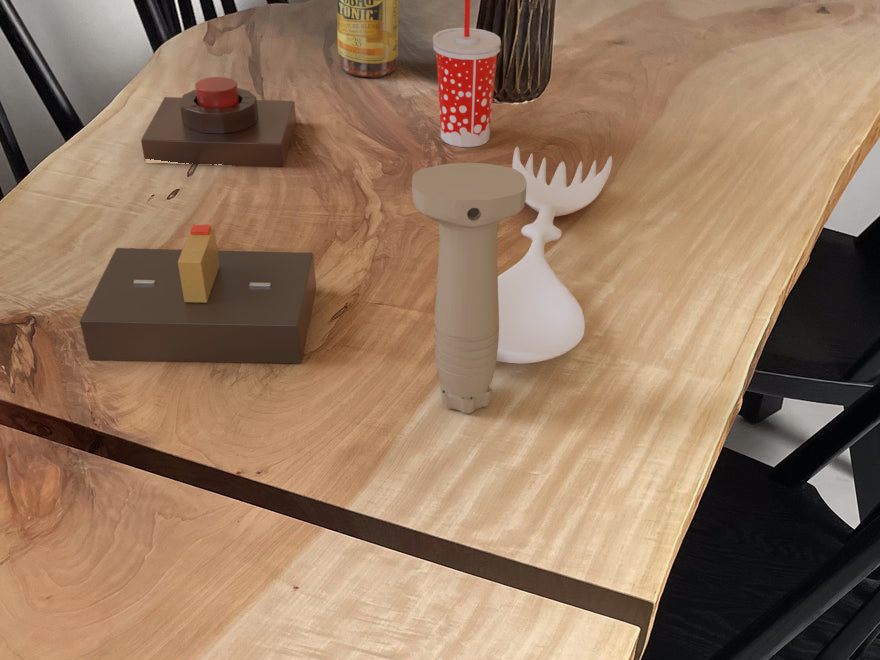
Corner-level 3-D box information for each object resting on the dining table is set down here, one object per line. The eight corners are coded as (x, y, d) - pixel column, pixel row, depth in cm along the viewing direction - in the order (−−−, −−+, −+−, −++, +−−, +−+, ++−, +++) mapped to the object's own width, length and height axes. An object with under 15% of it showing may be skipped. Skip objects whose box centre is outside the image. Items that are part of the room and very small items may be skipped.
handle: (412, 382, 73) (408, 164, 63) (509, 378, 74) (519, 162, 64) (418, 425, 69) (415, 201, 59) (519, 420, 70) (532, 198, 60)
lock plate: (88, 360, 73) (78, 318, 71) (123, 284, 81) (115, 245, 78) (301, 363, 74) (297, 323, 72) (316, 289, 81) (313, 250, 79)
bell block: (145, 164, 96) (136, 119, 94) (168, 120, 104) (161, 77, 101) (283, 168, 97) (279, 123, 94) (296, 124, 104) (292, 81, 102)
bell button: (194, 110, 96) (191, 90, 95) (201, 95, 99) (199, 76, 98) (236, 112, 97) (233, 92, 96) (242, 96, 99) (240, 77, 98)
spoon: (612, 189, 97) (616, 151, 94) (574, 393, 72) (579, 348, 70) (511, 178, 97) (512, 140, 95) (440, 377, 73) (440, 332, 71)
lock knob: (207, 302, 73) (200, 258, 71) (184, 302, 73) (176, 258, 71) (219, 266, 77) (213, 223, 75) (198, 265, 77) (191, 223, 75)
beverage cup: (488, 122, 107) (493, -33, 97) (504, 148, 102) (511, -13, 93) (426, 126, 105) (425, -32, 96) (440, 152, 101) (440, -11, 92)
